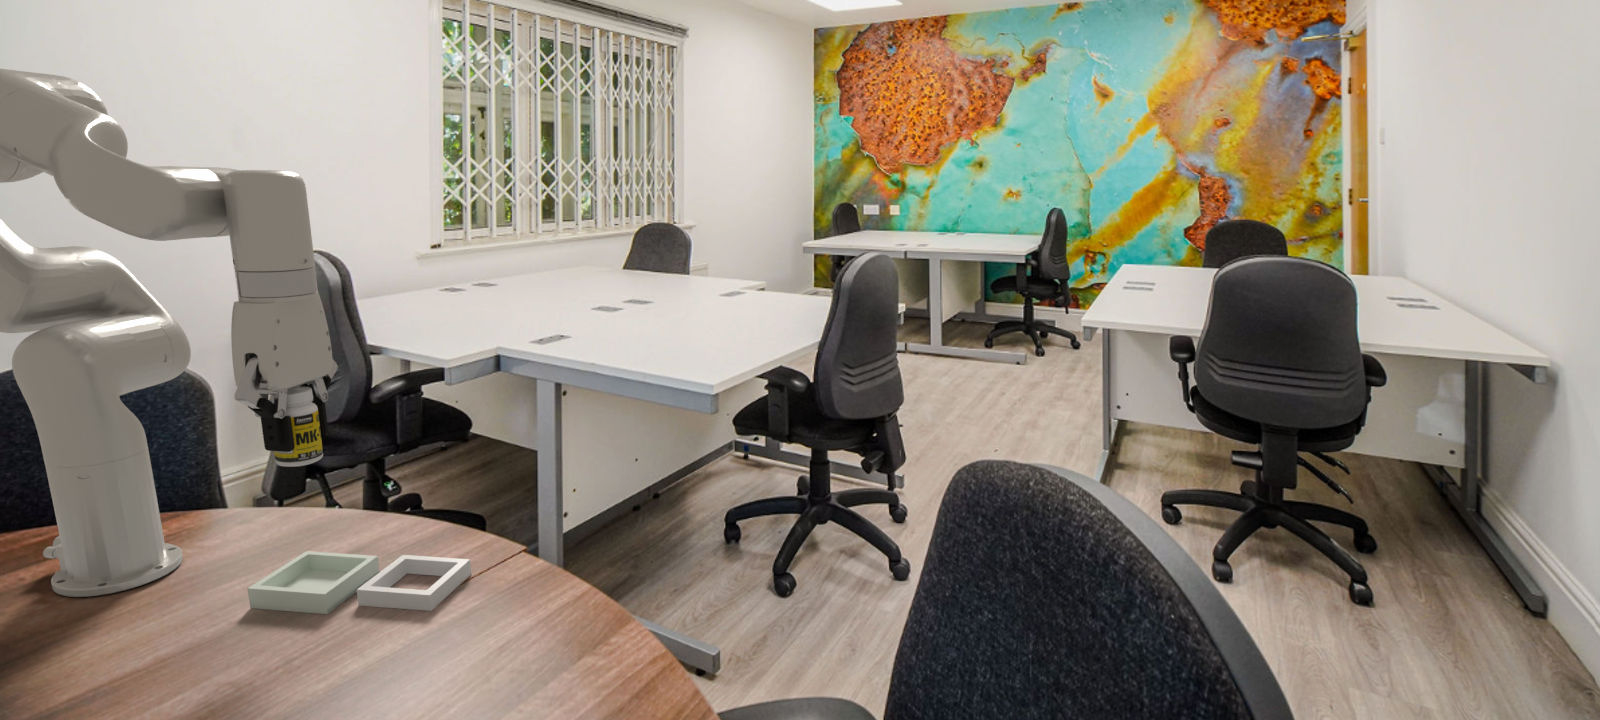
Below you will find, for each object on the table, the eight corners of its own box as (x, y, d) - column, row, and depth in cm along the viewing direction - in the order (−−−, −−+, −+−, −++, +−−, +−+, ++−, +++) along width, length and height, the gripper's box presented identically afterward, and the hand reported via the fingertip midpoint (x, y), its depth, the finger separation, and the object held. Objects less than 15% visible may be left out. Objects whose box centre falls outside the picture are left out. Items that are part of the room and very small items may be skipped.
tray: (250, 608, 94) (247, 588, 94) (309, 569, 103) (306, 551, 103) (327, 614, 93) (324, 594, 92) (379, 574, 102) (377, 556, 102)
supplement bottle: (301, 469, 92) (292, 397, 90) (265, 466, 93) (255, 394, 91) (333, 455, 96) (325, 386, 95) (298, 452, 97) (289, 383, 95)
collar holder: (358, 605, 95) (356, 589, 95) (404, 569, 104) (402, 554, 103) (431, 611, 94) (429, 595, 93) (471, 574, 103) (470, 559, 102)
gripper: (301, 275, 99) (318, 419, 103) (181, 294, 82) (207, 466, 86) (359, 276, 98) (374, 422, 102) (249, 297, 81) (272, 470, 85)
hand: (297, 440), depth 94 cm, fingers closed on supplement bottle, 4 cm apart
